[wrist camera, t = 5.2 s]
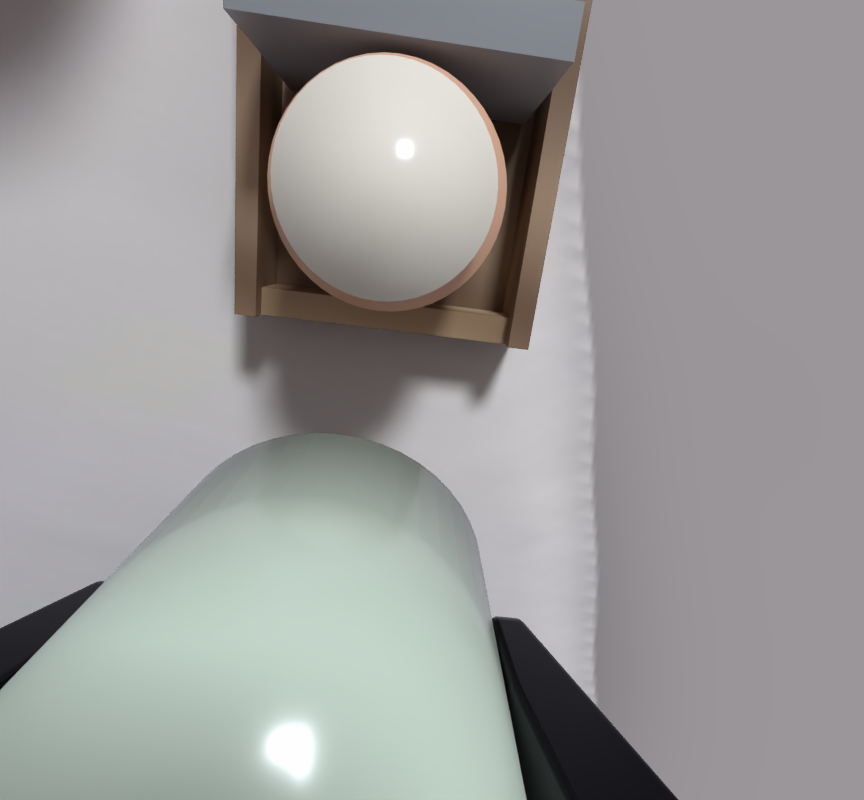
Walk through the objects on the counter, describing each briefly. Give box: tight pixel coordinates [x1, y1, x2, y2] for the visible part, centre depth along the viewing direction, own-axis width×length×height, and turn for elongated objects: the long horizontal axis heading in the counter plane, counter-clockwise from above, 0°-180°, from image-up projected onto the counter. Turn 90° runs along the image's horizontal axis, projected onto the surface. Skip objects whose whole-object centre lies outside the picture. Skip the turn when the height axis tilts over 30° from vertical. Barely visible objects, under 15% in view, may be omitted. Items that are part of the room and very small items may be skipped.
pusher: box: [223, 0, 585, 124], centre depth 12 cm, size 1×7×5 cm, turn 83°
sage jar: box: [0, 433, 527, 800], centre depth 5 cm, size 5×5×6 cm
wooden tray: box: [235, 0, 592, 350], centre depth 13 cm, size 14×9×2 cm, turn 173°
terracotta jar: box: [267, 52, 507, 312], centre depth 12 cm, size 5×5×6 cm
